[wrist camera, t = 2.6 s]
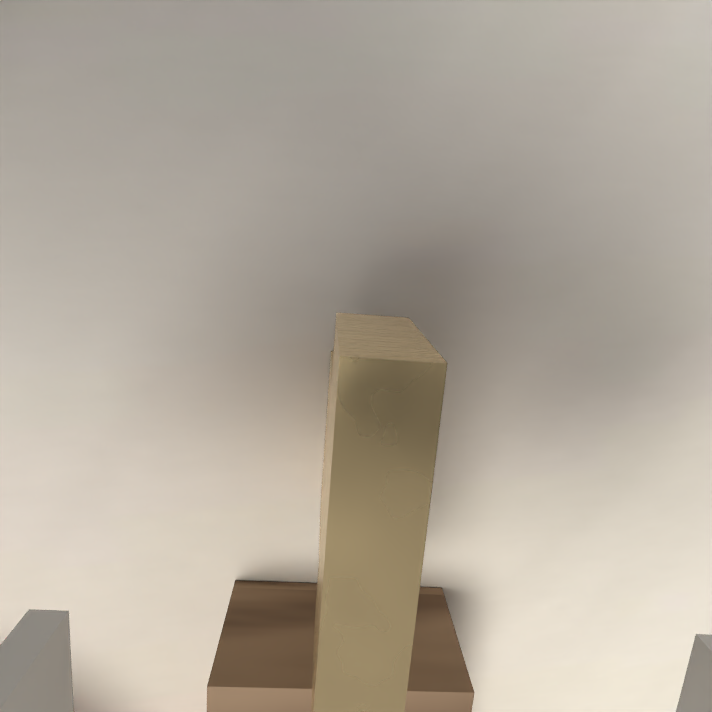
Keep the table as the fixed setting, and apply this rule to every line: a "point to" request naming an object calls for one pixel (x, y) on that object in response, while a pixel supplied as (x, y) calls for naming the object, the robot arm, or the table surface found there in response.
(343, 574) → the light wooden block
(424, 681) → the slotted block
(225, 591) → the table surface
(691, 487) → the table surface
